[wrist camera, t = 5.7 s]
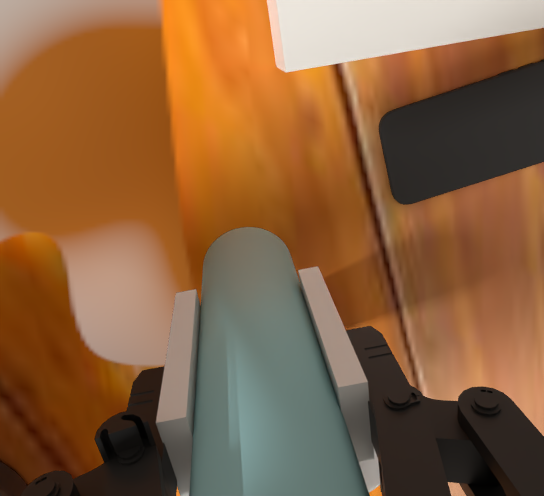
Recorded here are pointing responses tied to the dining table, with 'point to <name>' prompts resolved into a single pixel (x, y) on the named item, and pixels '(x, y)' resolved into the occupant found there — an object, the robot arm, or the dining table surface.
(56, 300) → the dining table surface
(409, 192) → the phone
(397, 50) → the socket block
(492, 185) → the dining table surface
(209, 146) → the dining table surface
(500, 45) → the dining table surface
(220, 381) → the teal peg
